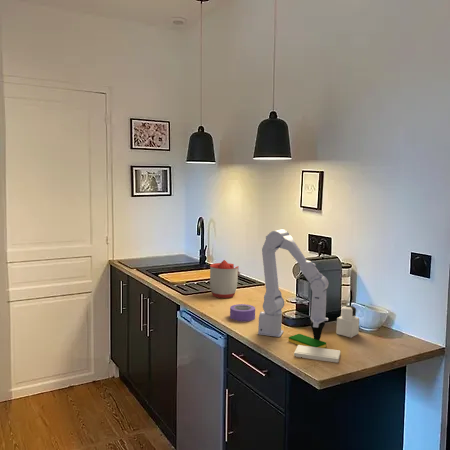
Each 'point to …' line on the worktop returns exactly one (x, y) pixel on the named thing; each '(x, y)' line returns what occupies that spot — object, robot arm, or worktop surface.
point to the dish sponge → (306, 341)
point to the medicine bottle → (347, 322)
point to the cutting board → (317, 353)
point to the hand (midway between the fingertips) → (317, 339)
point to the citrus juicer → (223, 279)
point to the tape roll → (242, 312)
